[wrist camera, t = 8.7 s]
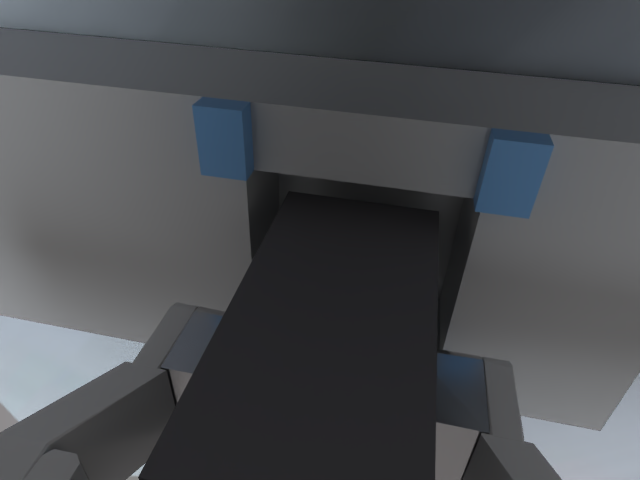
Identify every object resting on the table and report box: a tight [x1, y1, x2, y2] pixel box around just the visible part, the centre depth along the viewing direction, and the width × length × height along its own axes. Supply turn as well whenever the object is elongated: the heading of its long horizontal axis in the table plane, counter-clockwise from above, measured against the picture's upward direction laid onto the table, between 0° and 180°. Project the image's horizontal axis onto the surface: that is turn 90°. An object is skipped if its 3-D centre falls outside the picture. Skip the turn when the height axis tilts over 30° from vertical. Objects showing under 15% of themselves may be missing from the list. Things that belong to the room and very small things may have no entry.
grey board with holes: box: [0, 28, 640, 431], centre depth 13 cm, size 9×26×6 cm, turn 88°
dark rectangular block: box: [138, 191, 439, 480], centre depth 9 cm, size 4×4×7 cm
